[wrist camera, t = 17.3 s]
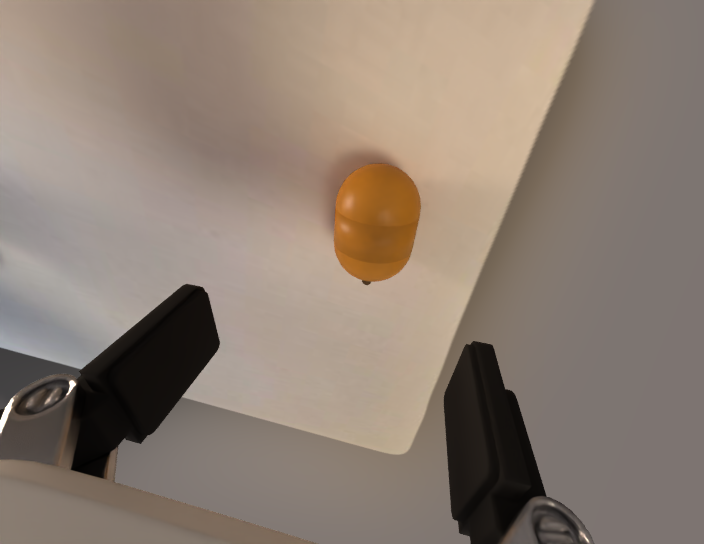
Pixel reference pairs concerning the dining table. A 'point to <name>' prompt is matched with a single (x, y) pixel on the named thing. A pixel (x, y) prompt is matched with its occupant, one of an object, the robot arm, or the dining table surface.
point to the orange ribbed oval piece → (376, 222)
